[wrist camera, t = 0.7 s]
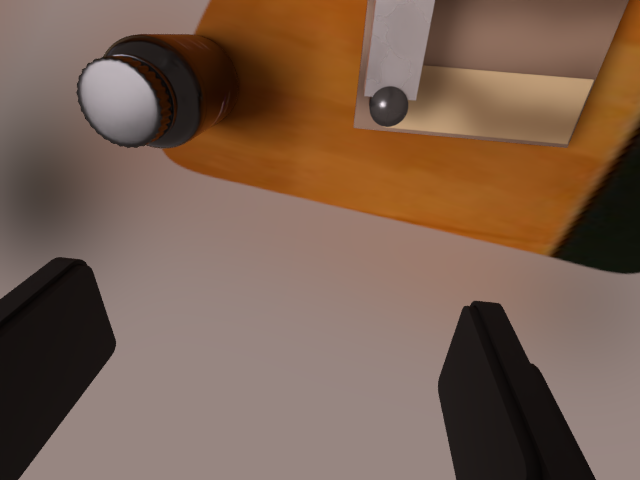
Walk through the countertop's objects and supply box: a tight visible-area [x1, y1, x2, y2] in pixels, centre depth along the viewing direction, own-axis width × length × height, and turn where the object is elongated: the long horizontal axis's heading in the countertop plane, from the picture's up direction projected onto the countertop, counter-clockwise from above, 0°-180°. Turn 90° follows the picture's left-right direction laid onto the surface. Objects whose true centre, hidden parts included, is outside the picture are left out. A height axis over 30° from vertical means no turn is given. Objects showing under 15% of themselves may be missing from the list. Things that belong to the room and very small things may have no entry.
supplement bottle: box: [77, 34, 238, 148], centre depth 25 cm, size 7×7×12 cm
